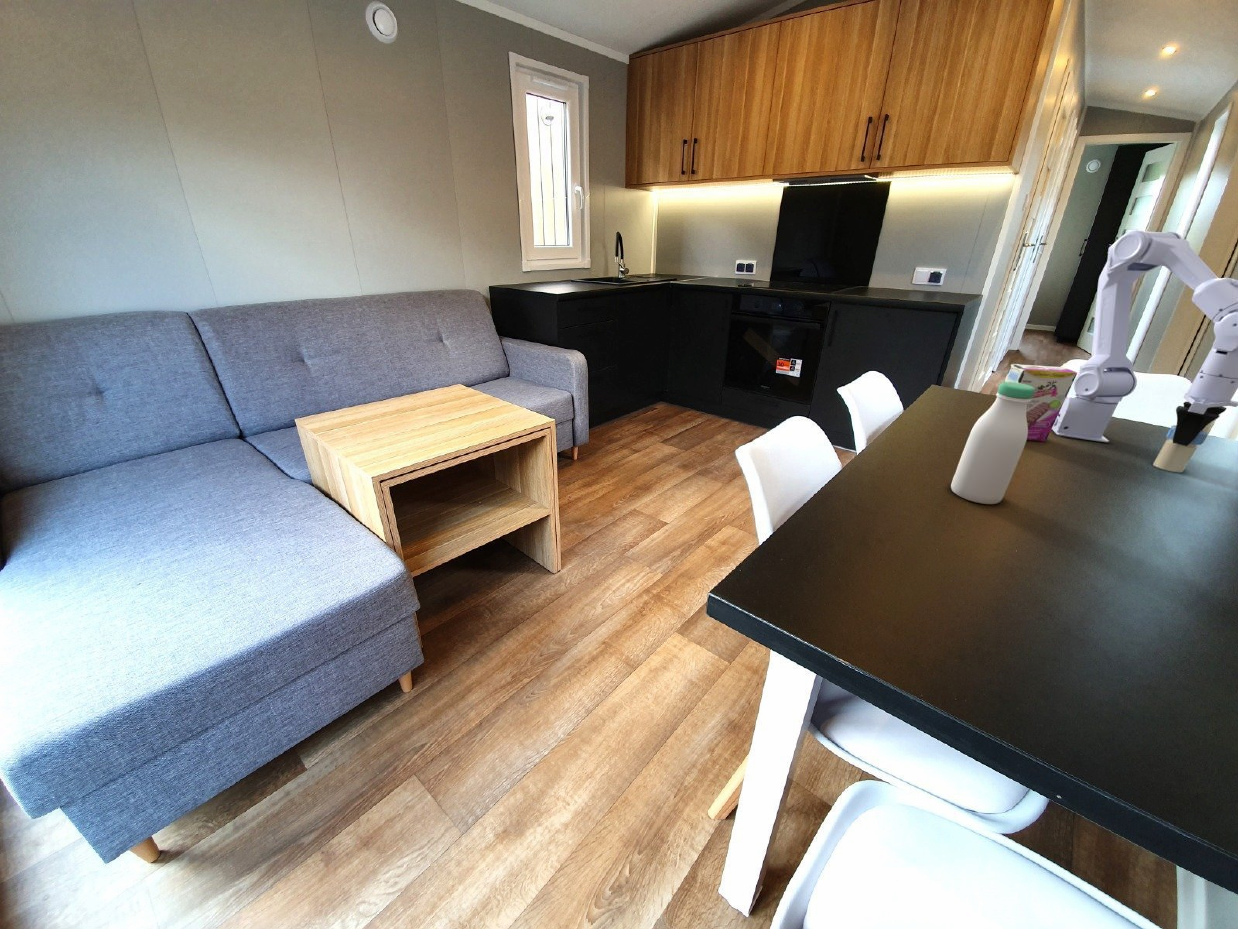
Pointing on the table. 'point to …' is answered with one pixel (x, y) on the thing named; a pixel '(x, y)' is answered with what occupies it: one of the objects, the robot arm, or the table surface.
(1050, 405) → the candy bar box
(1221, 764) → the table surface
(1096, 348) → the robot arm
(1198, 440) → the jam lid
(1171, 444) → the jam jar
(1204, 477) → the table surface
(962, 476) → the milk bottle
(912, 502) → the table surface
